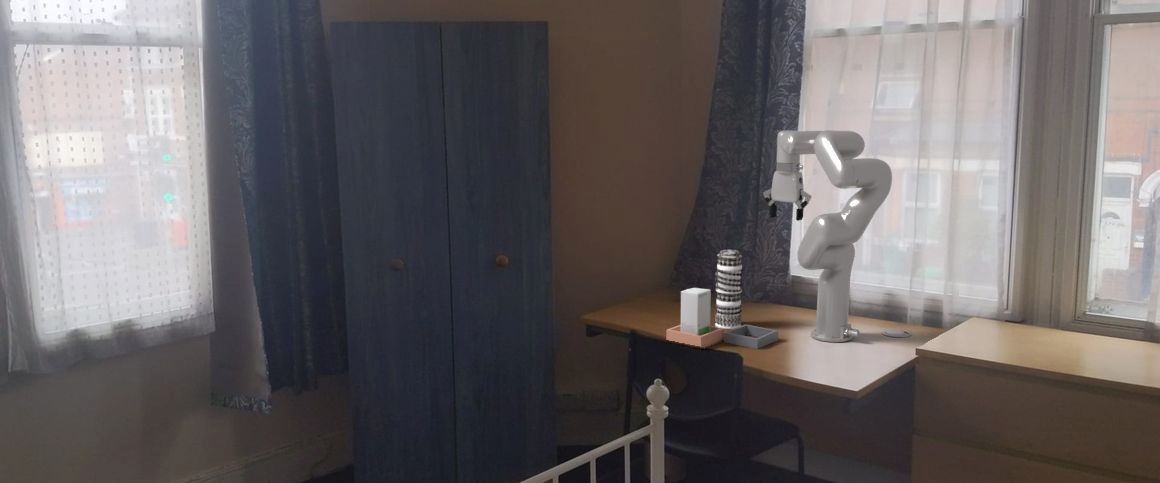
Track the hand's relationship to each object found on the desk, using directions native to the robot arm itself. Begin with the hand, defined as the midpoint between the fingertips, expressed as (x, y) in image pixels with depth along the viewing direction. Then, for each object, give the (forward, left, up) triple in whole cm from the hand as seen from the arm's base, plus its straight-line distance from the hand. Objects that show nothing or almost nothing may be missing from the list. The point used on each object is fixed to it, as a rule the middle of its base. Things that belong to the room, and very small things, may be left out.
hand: (786, 218), depth 310 cm
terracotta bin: (+5, +46, -33) cm, 57 cm away
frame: (-8, +35, -33) cm, 49 cm away
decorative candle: (+7, +24, -34) cm, 42 cm away
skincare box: (+5, +46, -33) cm, 57 cm away
